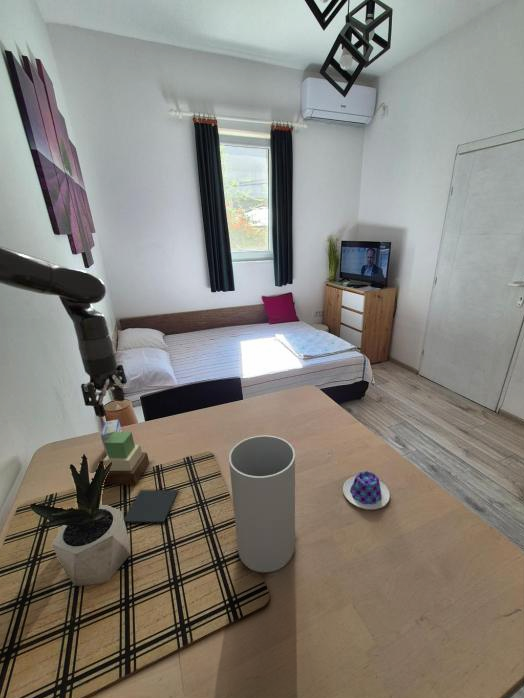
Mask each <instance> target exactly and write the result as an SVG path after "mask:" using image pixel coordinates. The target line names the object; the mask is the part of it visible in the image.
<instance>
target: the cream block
mask: <svg viewBox="0 0 524 698" xmlns="http://www.w3.org/2000/svg"><path fill="white" fill-rule="evenodd" d="M134 445H135V447H134V449H133V450H132V451H131V453H130V454H129V456H128V457H127V458H109V457H108V455H106V456H105V457H104V458H103V460H102V461H103V465H104V468H106V467H107V466H108V465H109V464H110V463H111V462H112V466H111V469H110V471H131V470H132V469H133V467H134V466H135V464H136V463H137V461H138V460H139V458H140V457H141V456H142V452H143V451H142V448H141V444H134Z"/></svg>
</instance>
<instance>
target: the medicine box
mask: <svg viewBox="0 0 524 698" xmlns="http://www.w3.org/2000/svg"><path fill="white" fill-rule="evenodd" d="M114 432H123V431H122V426H121V423H120V420H119V419H112V420H108V421H104V422H103V425H102V430H101V433H100V438H101V442H102V445H103V449H104V452H105V455H106V456H107V455H108V454H107V450H106V446H105V442H106V441H107V439H108V438H109V437H110V436H111V435H112V434H113V433H114Z"/></svg>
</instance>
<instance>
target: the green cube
mask: <svg viewBox="0 0 524 698" xmlns="http://www.w3.org/2000/svg"><path fill="white" fill-rule="evenodd" d="M135 445H136V444H135V441H134V437H133V433H132V432H131V431H122V432H114V433H113V434H112V435H111V436H110V437H109V438H108V439H107V441H106V442H105V446H106V450H107V454H108V457H109V458H127V457H128V456H129V454H130V453H131V451H132V450H133V449H134V447H135Z"/></svg>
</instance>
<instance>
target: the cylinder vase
mask: <svg viewBox="0 0 524 698" xmlns="http://www.w3.org/2000/svg"><path fill="white" fill-rule="evenodd" d="M228 464H229V473H230V474H229V475H230V483H231V495H232V504H233V515H234V524H235V535H236V546H237V553H238V557H239V559H240V561H241V562H242V563H243V564H244V566H246V567H247V568H248V569H249V570H252V571H254V572H258V573H271V572H276V571H278V570H280V569H281V568H283V567H285V565H286V564H288V563H289V562H290V560H291V559H292V558H293V555H294V553H295V547H296V452H295V449H294V446H292V444H291V443H290V442H288V441H287V440H286V439H284V438H281V437H279V436H275V435H267V434H266V435H263V434H262V435H255V436H250V437H248V438H244V439H242V440H241V441H239V442H237V444H235V445H234V446H233V448H232V449H231V450H230V452H229V455H228Z"/></svg>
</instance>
